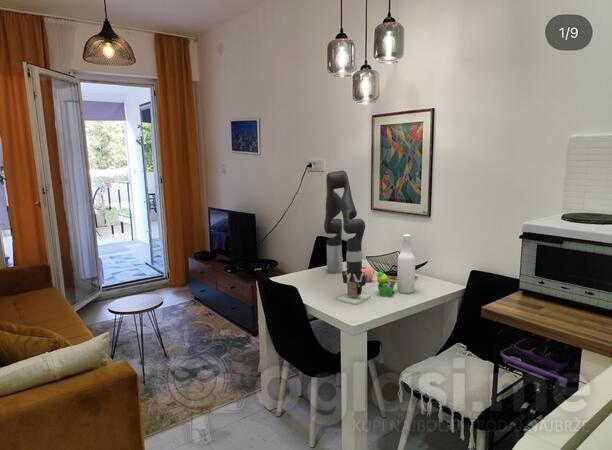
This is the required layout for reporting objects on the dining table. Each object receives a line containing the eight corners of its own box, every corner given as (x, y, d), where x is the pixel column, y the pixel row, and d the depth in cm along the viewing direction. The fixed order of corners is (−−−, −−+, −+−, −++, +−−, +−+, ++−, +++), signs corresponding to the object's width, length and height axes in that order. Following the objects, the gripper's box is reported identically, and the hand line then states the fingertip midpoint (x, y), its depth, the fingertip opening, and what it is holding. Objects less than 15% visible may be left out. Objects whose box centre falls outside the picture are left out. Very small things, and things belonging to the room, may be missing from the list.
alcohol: (395, 293, 212) (396, 235, 207) (398, 288, 220) (399, 233, 215) (413, 294, 208) (414, 236, 204) (415, 289, 217) (416, 233, 212)
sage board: (352, 293, 213) (352, 291, 213) (371, 297, 206) (371, 295, 206) (337, 300, 202) (337, 298, 202) (356, 305, 195) (356, 303, 195)
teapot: (374, 277, 241) (374, 263, 240) (374, 284, 227) (374, 270, 225) (353, 276, 243) (353, 263, 242) (352, 284, 228) (352, 269, 227)
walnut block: (352, 292, 207) (352, 279, 206) (361, 294, 204) (361, 280, 203) (347, 295, 203) (347, 281, 202) (355, 297, 200) (355, 283, 199)
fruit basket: (392, 297, 205) (392, 275, 203) (374, 296, 208) (374, 274, 206) (395, 290, 215) (396, 270, 214) (378, 289, 219) (379, 268, 217)
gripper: (370, 260, 199) (370, 293, 202) (346, 256, 208) (346, 288, 211) (362, 263, 193) (362, 297, 196) (337, 259, 203) (338, 292, 205)
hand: (354, 292), depth 203 cm, fingers closed on walnut block, 5 cm apart
